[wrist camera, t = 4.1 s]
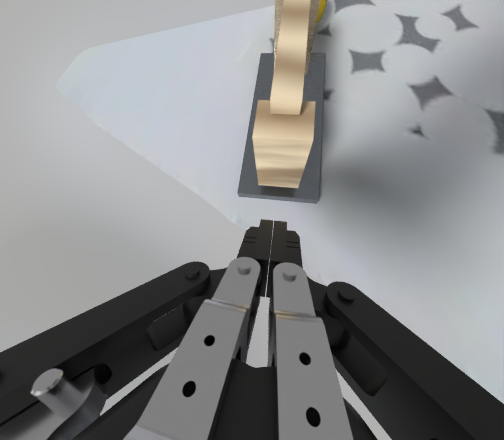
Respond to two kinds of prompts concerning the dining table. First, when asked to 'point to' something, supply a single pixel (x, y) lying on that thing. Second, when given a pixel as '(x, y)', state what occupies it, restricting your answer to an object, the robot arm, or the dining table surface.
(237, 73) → the dining table surface
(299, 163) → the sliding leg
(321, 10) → the lemon
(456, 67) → the dining table surface
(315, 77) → the bolt plate
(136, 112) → the dining table surface
